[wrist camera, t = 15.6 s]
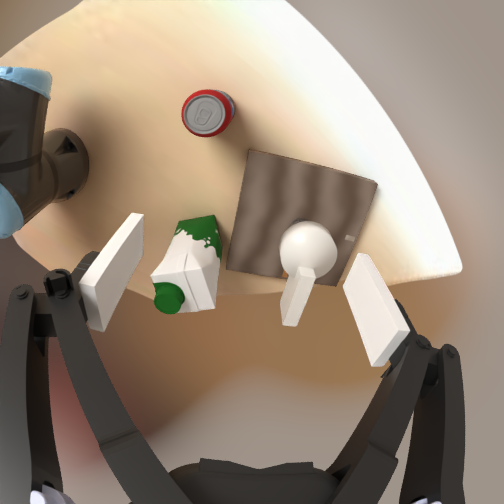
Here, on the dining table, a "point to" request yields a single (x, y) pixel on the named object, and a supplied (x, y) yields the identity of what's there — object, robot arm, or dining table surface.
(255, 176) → the base plate
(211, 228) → the milk carton
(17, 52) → the dining table surface
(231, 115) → the beverage can
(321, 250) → the spoon
